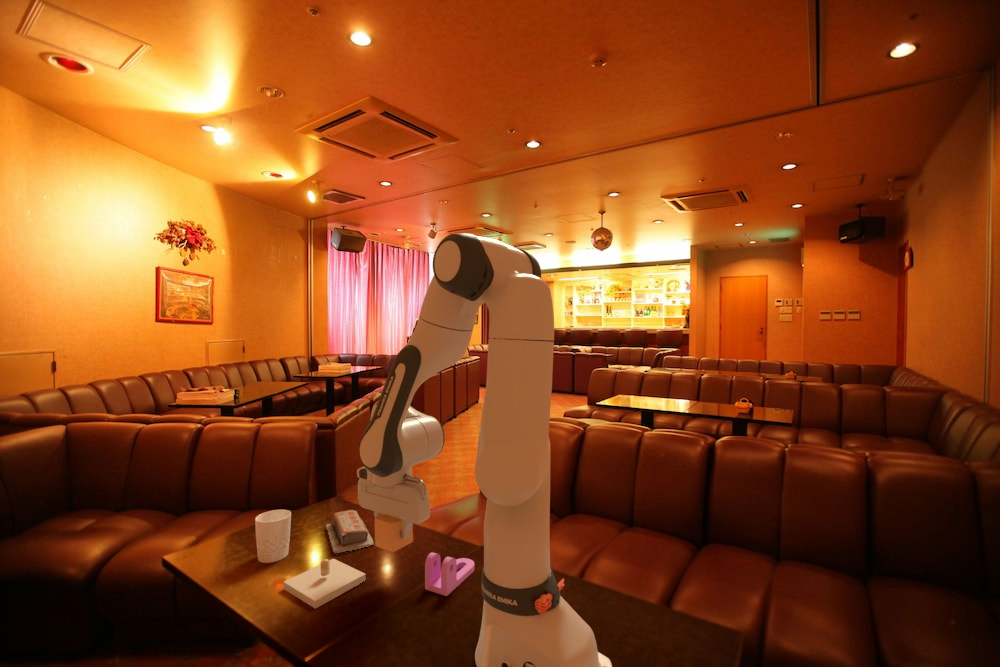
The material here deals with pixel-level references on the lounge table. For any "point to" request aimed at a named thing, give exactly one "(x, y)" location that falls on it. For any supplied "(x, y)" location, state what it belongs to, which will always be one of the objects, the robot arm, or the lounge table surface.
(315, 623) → the lounge table surface
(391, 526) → the solid orange cube
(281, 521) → the white cup
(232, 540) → the lounge table surface
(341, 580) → the pin plate
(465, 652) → the lounge table surface
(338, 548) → the packaged product
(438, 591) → the bracket
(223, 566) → the lounge table surface
